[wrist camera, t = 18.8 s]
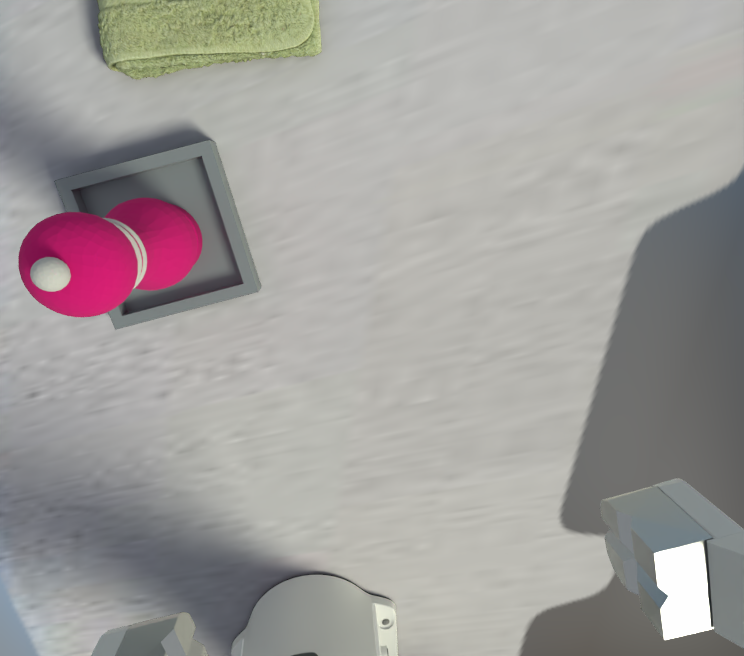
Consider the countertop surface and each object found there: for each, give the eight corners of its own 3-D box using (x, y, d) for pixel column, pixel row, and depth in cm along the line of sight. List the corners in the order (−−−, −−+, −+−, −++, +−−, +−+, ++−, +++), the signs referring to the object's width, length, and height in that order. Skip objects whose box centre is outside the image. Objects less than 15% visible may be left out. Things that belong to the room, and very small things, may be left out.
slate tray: (261, 287, 47) (258, 291, 45) (125, 323, 47) (115, 329, 45) (215, 142, 44) (209, 139, 42) (67, 181, 44) (54, 180, 42)
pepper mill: (113, 262, 45) (-50, 317, 26) (136, 183, 43) (-20, 178, 24) (194, 292, 46) (95, 365, 27) (219, 216, 45) (134, 236, 25)
